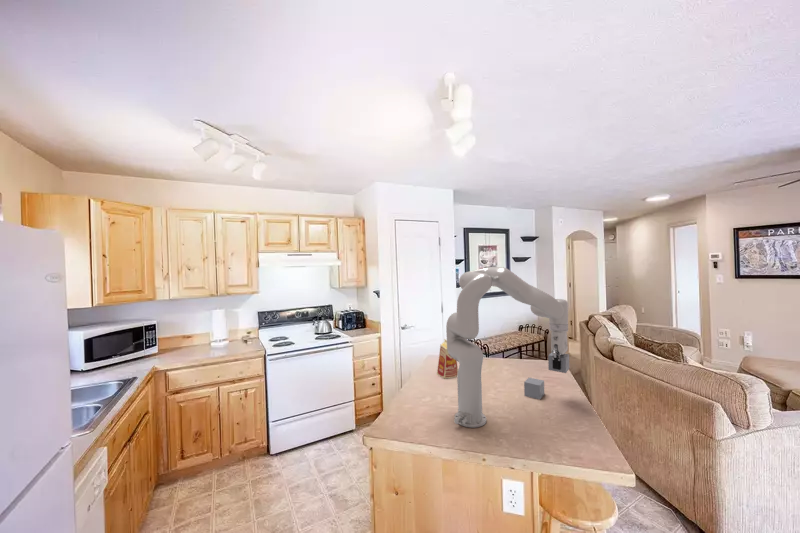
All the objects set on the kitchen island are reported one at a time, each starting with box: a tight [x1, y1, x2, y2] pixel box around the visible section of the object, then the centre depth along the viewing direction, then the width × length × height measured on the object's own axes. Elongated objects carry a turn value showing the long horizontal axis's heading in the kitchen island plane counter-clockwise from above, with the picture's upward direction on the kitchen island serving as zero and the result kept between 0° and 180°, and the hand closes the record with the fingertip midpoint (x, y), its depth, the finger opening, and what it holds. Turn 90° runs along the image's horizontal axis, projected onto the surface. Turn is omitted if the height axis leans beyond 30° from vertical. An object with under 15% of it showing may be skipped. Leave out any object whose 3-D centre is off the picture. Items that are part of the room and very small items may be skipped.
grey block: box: [547, 352, 570, 374], centre depth 143 cm, size 7×7×6 cm
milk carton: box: [436, 338, 459, 380], centre depth 178 cm, size 9×9×20 cm
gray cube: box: [523, 377, 545, 400], centre depth 150 cm, size 7×7×6 cm
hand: (558, 366), depth 143 cm, fingers closed on grey block, 7 cm apart
